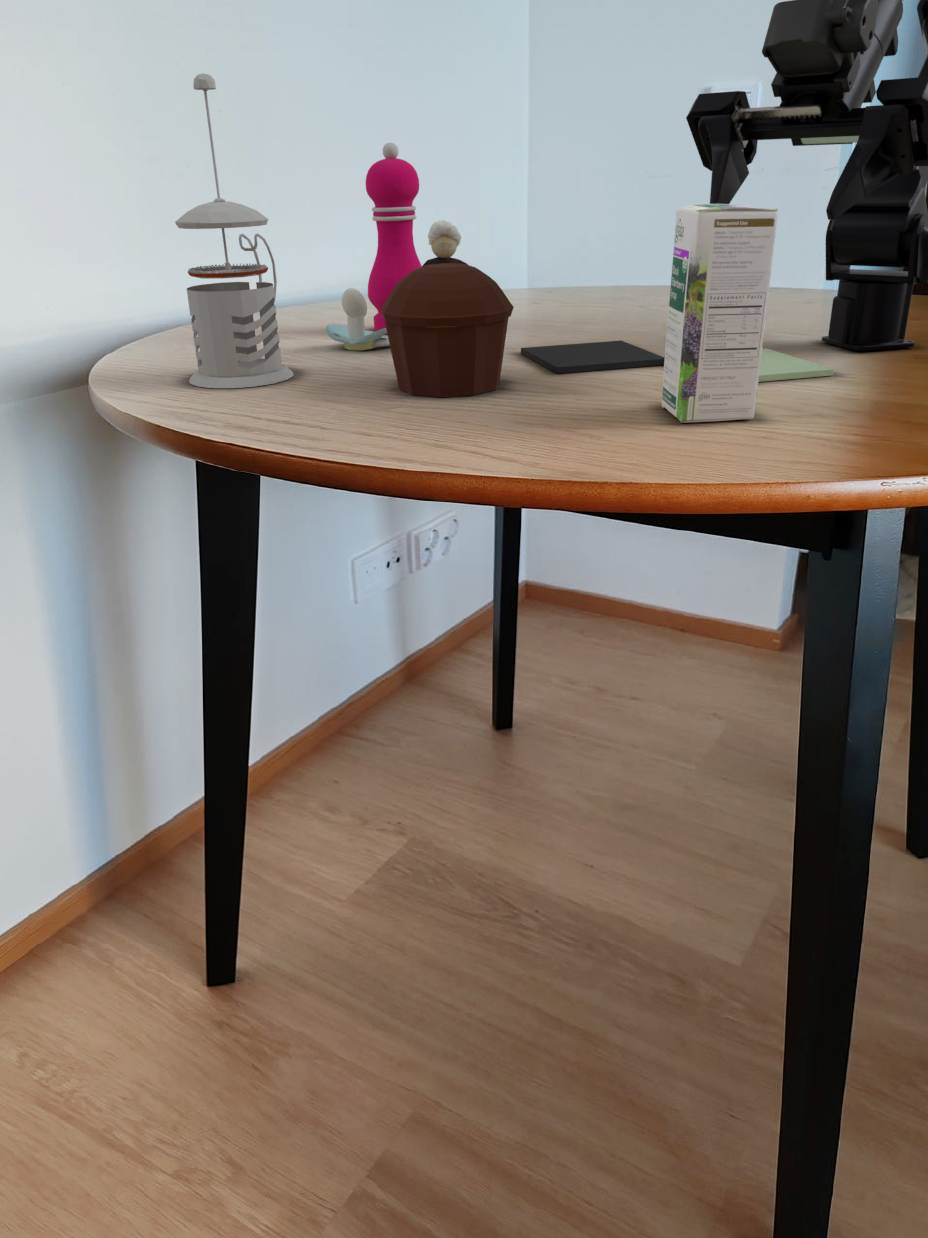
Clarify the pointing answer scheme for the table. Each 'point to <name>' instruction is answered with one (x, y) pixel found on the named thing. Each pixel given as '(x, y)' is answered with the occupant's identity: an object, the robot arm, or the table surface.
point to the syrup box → (717, 311)
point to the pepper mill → (391, 225)
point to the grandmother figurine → (443, 242)
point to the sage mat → (788, 367)
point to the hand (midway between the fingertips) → (768, 215)
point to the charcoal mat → (592, 356)
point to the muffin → (447, 330)
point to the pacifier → (356, 325)
